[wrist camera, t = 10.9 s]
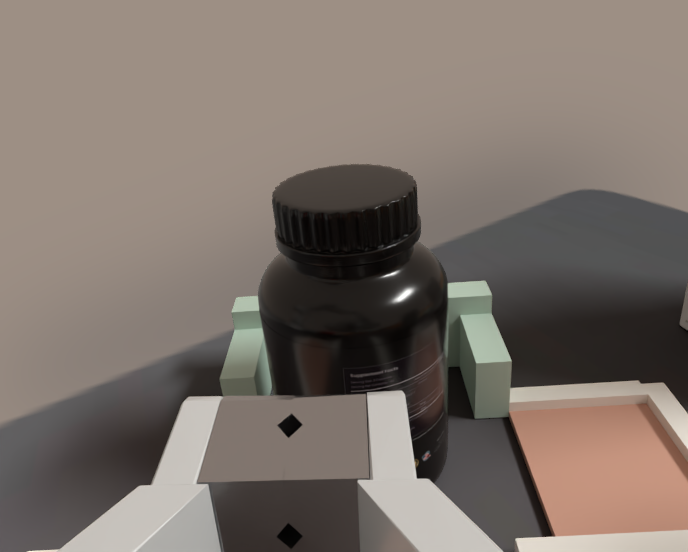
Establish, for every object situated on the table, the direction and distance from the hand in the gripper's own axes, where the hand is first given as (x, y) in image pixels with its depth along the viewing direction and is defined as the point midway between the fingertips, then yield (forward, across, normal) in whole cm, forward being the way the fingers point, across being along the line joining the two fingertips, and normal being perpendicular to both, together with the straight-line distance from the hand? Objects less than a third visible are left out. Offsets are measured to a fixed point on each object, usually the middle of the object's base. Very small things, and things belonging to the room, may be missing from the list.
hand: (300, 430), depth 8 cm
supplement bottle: (+12, -1, +13) cm, 18 cm away
